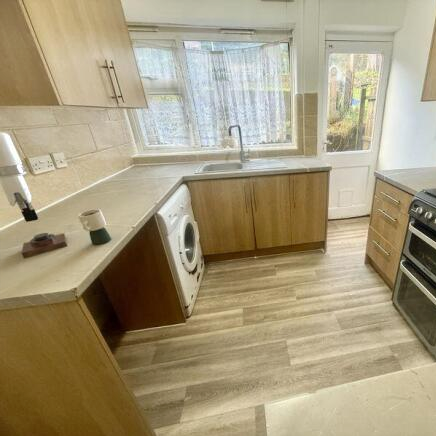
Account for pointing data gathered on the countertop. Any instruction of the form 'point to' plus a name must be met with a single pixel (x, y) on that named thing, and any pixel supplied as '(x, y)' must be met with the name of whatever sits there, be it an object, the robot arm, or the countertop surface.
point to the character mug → (95, 226)
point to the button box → (44, 245)
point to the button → (41, 236)
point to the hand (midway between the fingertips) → (32, 220)
